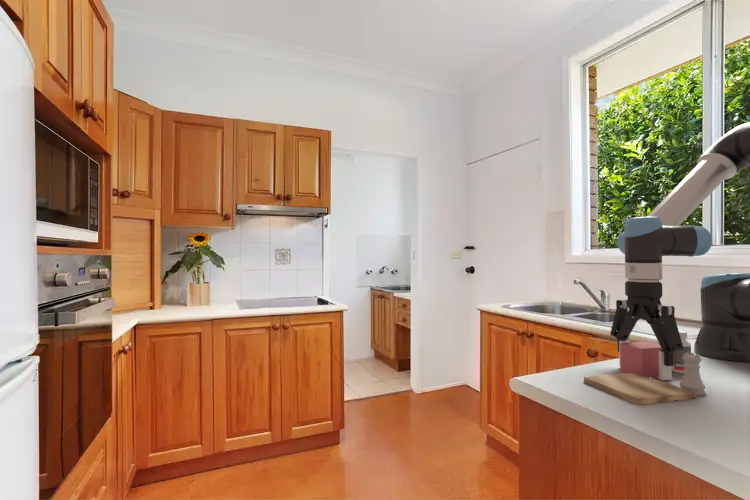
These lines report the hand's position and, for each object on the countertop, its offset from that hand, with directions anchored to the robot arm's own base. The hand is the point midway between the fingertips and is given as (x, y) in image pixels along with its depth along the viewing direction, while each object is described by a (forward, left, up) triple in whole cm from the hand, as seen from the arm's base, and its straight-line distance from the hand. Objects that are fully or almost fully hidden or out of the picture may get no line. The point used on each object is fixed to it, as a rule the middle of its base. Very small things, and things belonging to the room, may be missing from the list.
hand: (644, 372), depth 96 cm
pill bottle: (-10, 0, 0) cm, 10 cm away
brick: (0, 0, 0) cm, 0 cm away
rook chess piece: (+2, +13, 0) cm, 13 cm away
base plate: (+12, +9, 0) cm, 15 cm away
